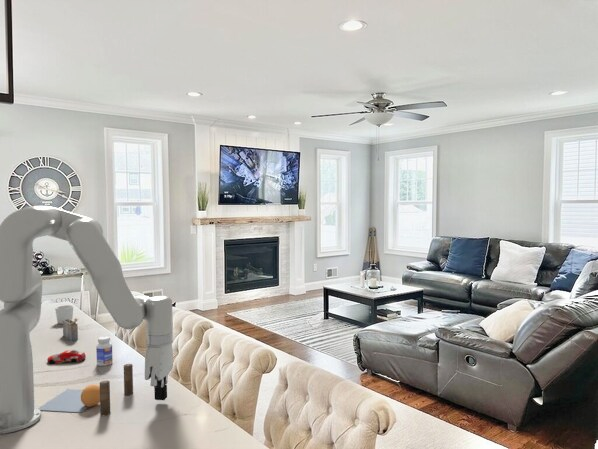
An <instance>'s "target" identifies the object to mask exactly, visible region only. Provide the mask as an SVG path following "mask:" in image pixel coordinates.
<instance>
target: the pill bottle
mask: <svg viewBox="0 0 598 449" xmlns="http://www.w3.org/2000/svg"><path fill="white" fill-rule="evenodd" d="M110 341H111V337H110V336H99V337H98V338H97V342H98V343H97V344H96V351H95V352H96V365H97V366H100V367H104V366H108V365H111V364H112V363H113V359H114V358H113V343H112V342H110Z"/></svg>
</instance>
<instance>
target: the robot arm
mask: <svg viewBox="0 0 598 449" xmlns="http://www.w3.org/2000/svg"><path fill="white" fill-rule="evenodd" d="M103 234H104V231H103V227H102V224H101V223H100V222H99V221H98V220H96V219H94V218H91V217H88V216H84V215H80V214H77V213H73V212H71V211H67V210H65V209H64V210H63V209H60V208H58V207H54V206H50V205H31V206H26V207H24V208H20V209H18V210H15V211H14V212H12V213H10V214H9V215H7V216H6V217H5V218H4V219H3V221H2V222H1V223H0V302H2V303H3V308H2V309H0V434H9V433H15V432H18V431H20V430H24V429H26V428H29V427H31V426H33V425H35V424H36V423H37V422H38V421H40V419H41V418H42V411H40V410H39V409H38V408H36V407H35V389H34V386H35V383H34V362H33V361H34V358H33V348H32V343H31V337H30V333H31V332H32V331H33V330H34V329H35V328H36V327H37V325H38V323H40V322H39V321H40V320H41V319H40V318H41V314H42V296H43V279H42V278H43V276H42V274H41V272H40V271H39V269H38V268H37V267H35V266H34V265H33V260H34V247H33V246H34V245H33V244H34V241H35V239H37V238H41V237H47V236H48V237H51V238H55V239H60V240H62V241H66V242H67V243H68V244H69V245H70V247H71V248H72V251H73V252H74V253H75V255H76V256H77V258H78V259H79V261H80V262H81V264H82V265H83V268H84V269H85V270H86V272H87V273H88V275H89V277H90V279H91V281H92V283H93V285H94V287H95V289H96V292H97V294H98V295H99V297H100V300H101V301H102V303H103V305H104V306H105V309H106V310H107V312H108V313H109V315H110V316H111V318H112V319H113V321H114V322H115V323H116V325H118V326H119V327H120V328H121V329H124V330H134V329H136V328H138V327H139V326H140V325H141V324H142V323H143V322H144V320H145V338H146V340H145V341H146V348H145V349H146V350H145V356H144V380H145V381H149V380H150V387H153V389H154V400H156V401H165V400H166V399H167V398H168V386H167V384H168V378H169V377H168V376H169V374H170V373H171V371H172V370H173V368H174V353H173V342H174V338H173V337H174V335H173V334H174V329H173V328H174V327H173V300H172V298H171V297H170V296H166V295H156V296H155V295H154V296H150V297H149V296H140V295H139V296H137V295H133V293H132V292H131V290H130V288H129V287H128V285H127V282H126V279H125V276H124V272H123V269H122V264H121V262H120V260H119V258H118V257H117V256H116V254H115V253H114V250H113V249H112V248H111V246H110V245H109V243H108V242H107V240H106V238H105V237H104V235H103Z"/></svg>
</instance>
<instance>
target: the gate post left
mask: <svg viewBox="0 0 598 449" xmlns="http://www.w3.org/2000/svg"><path fill="white" fill-rule="evenodd" d="M99 387H100V402H99V407H100V409H99V410H100V416H101V417H102V416H103V415H105V416H108V415H110V414H111V394H110V393H111V390H110V389H111V386H110V380H103V381H100V382H99Z"/></svg>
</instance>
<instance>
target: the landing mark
mask: <svg viewBox="0 0 598 449" xmlns="http://www.w3.org/2000/svg"><path fill="white" fill-rule="evenodd" d="M83 390H84V389H76V388H75V389H70V388H67V389H65V390H63V392H61V393H60V394H58V395H56V396H55V397H53V398H52V399H50V400H49V401H47V402H45V403H44V404H42V406H40V407H38V408H37V409H39V410H40V411H41V412H59V413H60V412H61V413H74V414H75V413H77V414H78V413H79V414H82V413H83V412H85V411H87V409H88V408H90V407H89V406H86V405H84V404H83V403H82V401H81V393H82V391H83Z"/></svg>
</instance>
